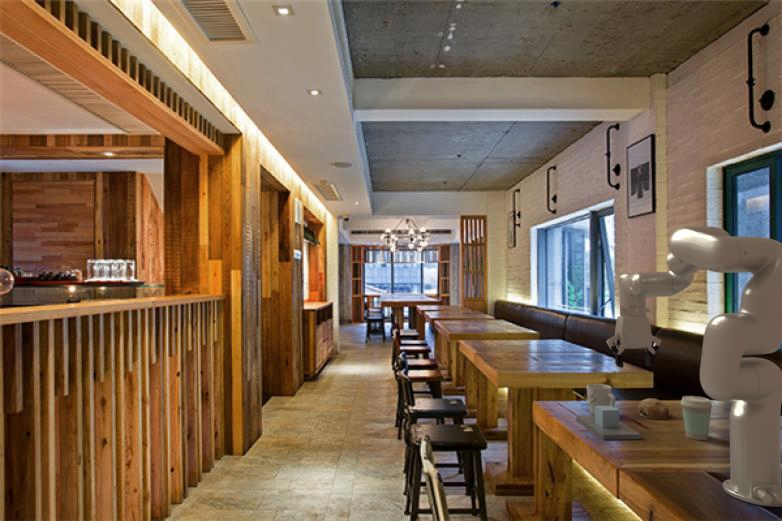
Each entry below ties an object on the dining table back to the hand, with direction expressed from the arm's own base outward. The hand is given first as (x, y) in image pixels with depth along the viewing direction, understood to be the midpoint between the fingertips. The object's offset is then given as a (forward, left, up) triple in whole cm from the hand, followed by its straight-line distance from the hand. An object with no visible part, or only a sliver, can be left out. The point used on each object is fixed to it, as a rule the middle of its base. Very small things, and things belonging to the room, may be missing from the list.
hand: (634, 366), depth 156 cm
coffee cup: (+5, -18, -22) cm, 29 cm away
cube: (+6, +8, -21) cm, 22 cm away
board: (+6, +8, -22) cm, 24 cm away
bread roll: (+28, -11, -22) cm, 37 cm away
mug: (+24, +7, -22) cm, 33 cm away
